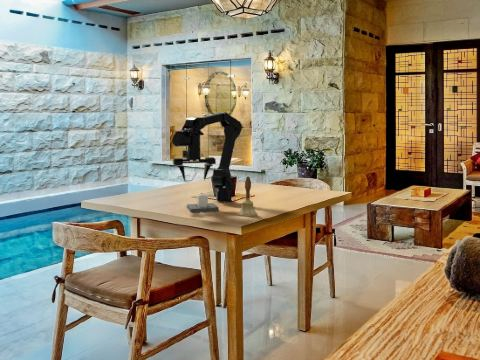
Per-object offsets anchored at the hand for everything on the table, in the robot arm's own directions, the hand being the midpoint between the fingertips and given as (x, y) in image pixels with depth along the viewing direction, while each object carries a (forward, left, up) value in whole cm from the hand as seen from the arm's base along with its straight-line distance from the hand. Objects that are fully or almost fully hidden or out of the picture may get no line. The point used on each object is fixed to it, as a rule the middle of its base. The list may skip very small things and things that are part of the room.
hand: (194, 180), depth 234 cm
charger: (-2, +8, -12) cm, 14 cm away
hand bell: (-18, +25, -12) cm, 33 cm away
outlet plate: (-2, +8, -12) cm, 15 cm away
